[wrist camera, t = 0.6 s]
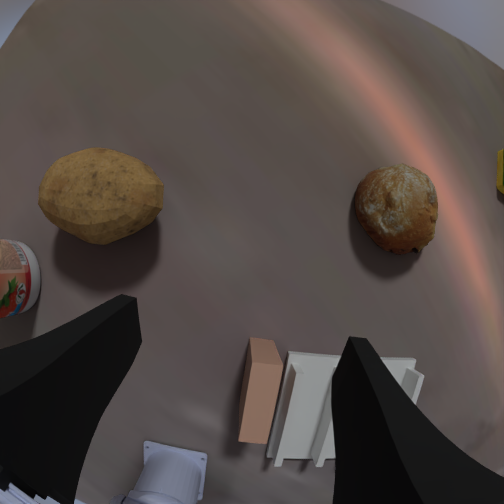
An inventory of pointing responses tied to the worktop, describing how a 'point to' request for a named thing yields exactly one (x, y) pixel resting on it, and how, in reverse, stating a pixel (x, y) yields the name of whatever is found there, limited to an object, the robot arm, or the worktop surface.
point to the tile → (259, 390)
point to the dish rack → (318, 405)
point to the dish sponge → (500, 171)
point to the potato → (100, 195)
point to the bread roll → (397, 208)
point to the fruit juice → (17, 278)
